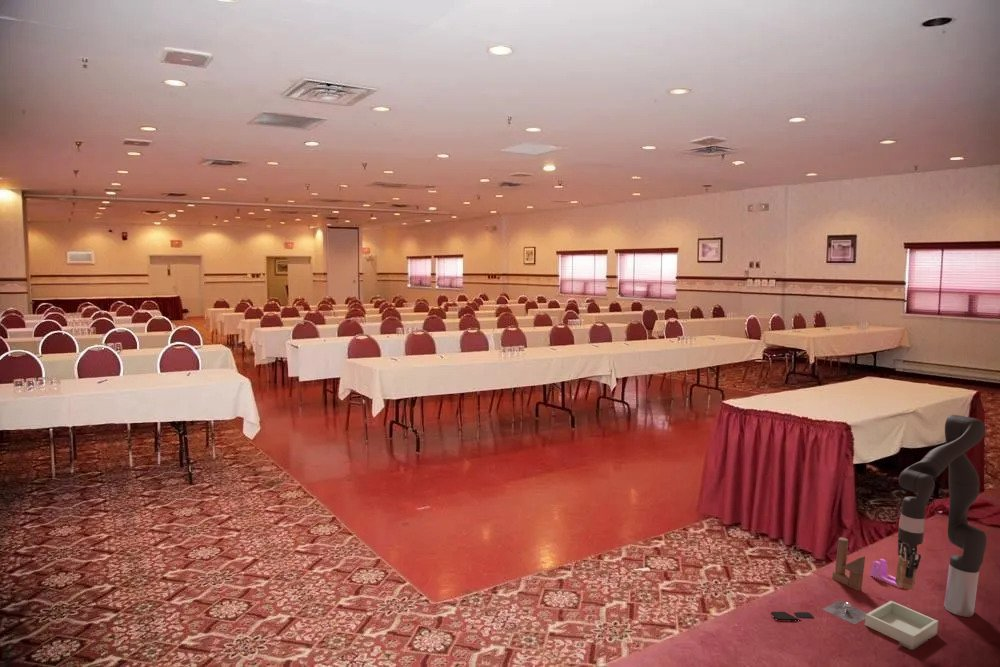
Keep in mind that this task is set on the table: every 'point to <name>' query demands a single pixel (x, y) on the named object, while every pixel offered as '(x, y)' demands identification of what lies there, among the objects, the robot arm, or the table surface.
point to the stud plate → (846, 612)
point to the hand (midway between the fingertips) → (906, 574)
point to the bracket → (882, 572)
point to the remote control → (788, 617)
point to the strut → (900, 574)
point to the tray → (902, 624)
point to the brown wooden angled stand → (848, 567)
